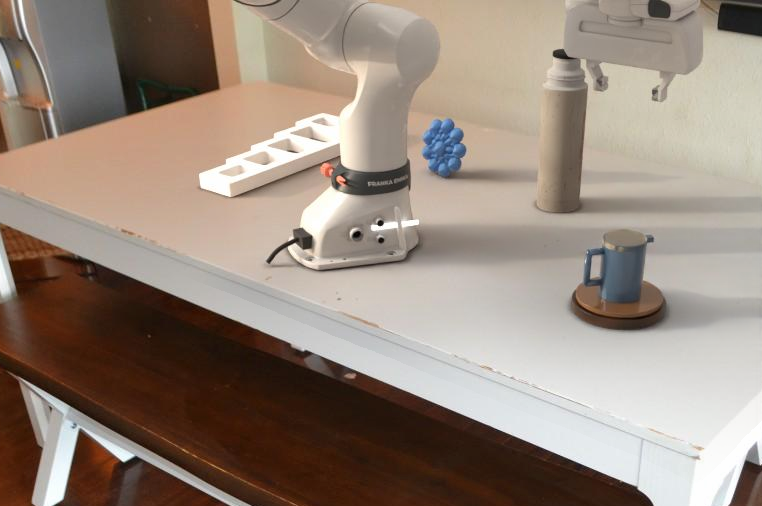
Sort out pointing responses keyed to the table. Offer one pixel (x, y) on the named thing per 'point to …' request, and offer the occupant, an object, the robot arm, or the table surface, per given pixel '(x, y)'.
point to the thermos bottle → (562, 134)
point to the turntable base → (615, 321)
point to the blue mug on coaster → (619, 277)
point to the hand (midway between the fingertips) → (629, 95)
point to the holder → (277, 156)
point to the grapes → (443, 147)
